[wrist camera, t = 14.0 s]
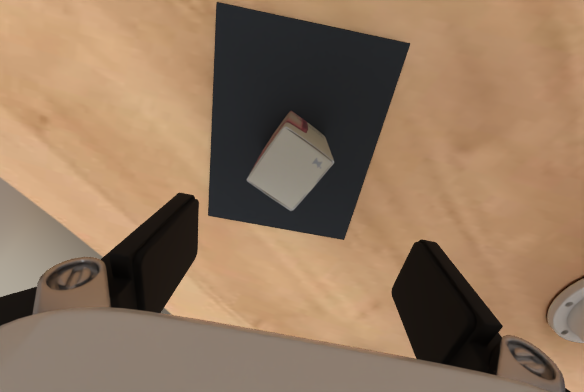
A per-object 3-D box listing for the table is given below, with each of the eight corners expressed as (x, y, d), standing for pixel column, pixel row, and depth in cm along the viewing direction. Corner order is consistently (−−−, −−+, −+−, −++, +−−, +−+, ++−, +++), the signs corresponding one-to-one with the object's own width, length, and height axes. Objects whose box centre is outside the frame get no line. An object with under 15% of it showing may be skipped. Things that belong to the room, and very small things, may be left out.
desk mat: (408, 44, 21) (410, 43, 20) (343, 237, 29) (344, 240, 29) (218, 3, 20) (216, 1, 19) (209, 214, 28) (208, 215, 28)
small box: (290, 108, 23) (284, 122, 16) (326, 136, 24) (336, 161, 17) (260, 151, 25) (243, 181, 17) (295, 175, 26) (292, 213, 18)
